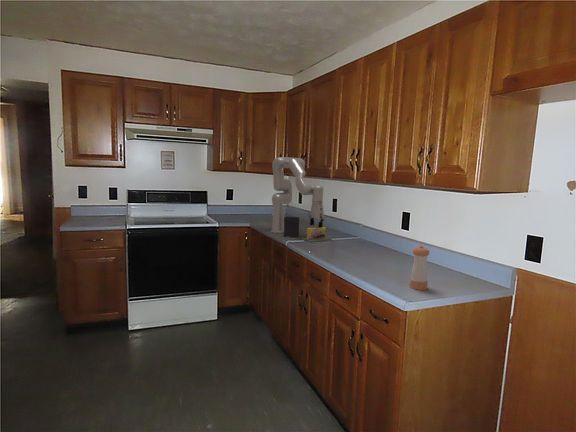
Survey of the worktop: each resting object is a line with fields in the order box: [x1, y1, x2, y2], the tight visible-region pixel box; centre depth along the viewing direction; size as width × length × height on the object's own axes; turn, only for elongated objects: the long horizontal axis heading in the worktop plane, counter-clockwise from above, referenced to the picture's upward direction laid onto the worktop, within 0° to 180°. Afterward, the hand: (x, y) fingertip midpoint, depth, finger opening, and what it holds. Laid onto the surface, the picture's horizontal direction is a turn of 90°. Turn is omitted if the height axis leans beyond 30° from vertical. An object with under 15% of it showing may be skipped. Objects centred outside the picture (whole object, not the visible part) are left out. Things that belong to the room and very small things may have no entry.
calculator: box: [283, 216, 300, 238], centre depth 277 cm, size 11×4×15 cm, turn 76°
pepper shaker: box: [409, 245, 430, 291], centre depth 164 cm, size 7×7×19 cm
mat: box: [300, 236, 332, 244], centre depth 268 cm, size 12×19×1 cm, turn 124°
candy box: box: [306, 226, 327, 240], centre depth 267 cm, size 16×2×8 cm, turn 124°
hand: (316, 226), depth 267 cm, fingers open, 9 cm apart
